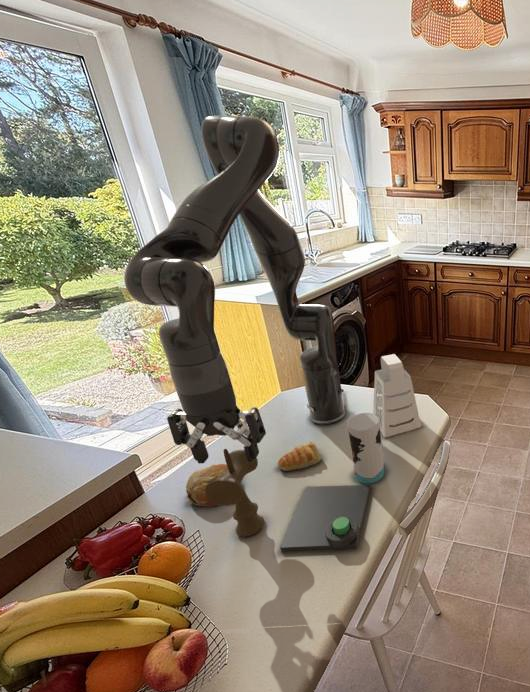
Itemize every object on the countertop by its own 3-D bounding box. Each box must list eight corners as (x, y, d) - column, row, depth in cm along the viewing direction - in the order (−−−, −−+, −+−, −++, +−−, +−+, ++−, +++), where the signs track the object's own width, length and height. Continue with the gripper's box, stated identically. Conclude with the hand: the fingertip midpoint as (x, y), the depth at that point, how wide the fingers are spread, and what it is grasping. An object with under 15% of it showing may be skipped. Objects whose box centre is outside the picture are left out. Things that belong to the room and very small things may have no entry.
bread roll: (191, 506, 90) (165, 492, 84) (222, 465, 96) (200, 449, 90) (224, 519, 88) (199, 505, 81) (254, 475, 93) (233, 460, 87)
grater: (384, 437, 109) (377, 371, 100) (373, 418, 117) (365, 355, 108) (421, 426, 113) (417, 363, 104) (407, 408, 122) (403, 348, 112)
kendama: (225, 550, 77) (193, 468, 68) (244, 511, 85) (218, 433, 76) (258, 546, 77) (231, 465, 68) (274, 508, 86) (252, 431, 77)
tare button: (335, 523, 80) (334, 517, 79) (351, 522, 80) (350, 516, 79) (332, 536, 77) (330, 529, 76) (348, 535, 77) (347, 528, 76)
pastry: (283, 478, 94) (280, 465, 92) (275, 462, 99) (272, 450, 97) (323, 461, 99) (321, 449, 98) (314, 448, 104) (311, 436, 102)
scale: (307, 490, 91) (304, 480, 89) (370, 488, 92) (369, 478, 90) (280, 554, 76) (277, 543, 75) (356, 550, 77) (354, 540, 76)
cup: (383, 462, 100) (378, 411, 93) (385, 481, 94) (379, 428, 87) (355, 466, 98) (347, 414, 91) (355, 485, 93) (347, 432, 86)
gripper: (258, 370, 70) (276, 446, 77) (171, 371, 69) (198, 447, 76) (238, 392, 63) (260, 472, 71) (141, 394, 62) (174, 475, 69)
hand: (228, 459), depth 73 cm, fingers open, 8 cm apart
